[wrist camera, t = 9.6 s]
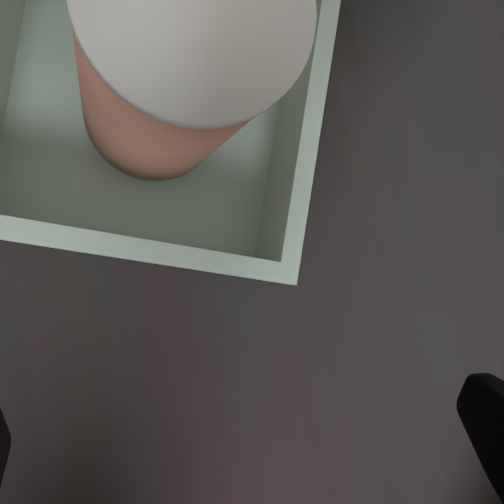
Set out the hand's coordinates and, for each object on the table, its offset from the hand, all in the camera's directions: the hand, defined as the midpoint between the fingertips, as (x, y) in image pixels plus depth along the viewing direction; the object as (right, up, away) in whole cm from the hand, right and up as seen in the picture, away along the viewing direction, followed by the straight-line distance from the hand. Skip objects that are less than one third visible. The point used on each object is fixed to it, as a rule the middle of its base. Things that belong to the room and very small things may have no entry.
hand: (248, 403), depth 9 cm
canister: (-4, +9, +11) cm, 15 cm away
